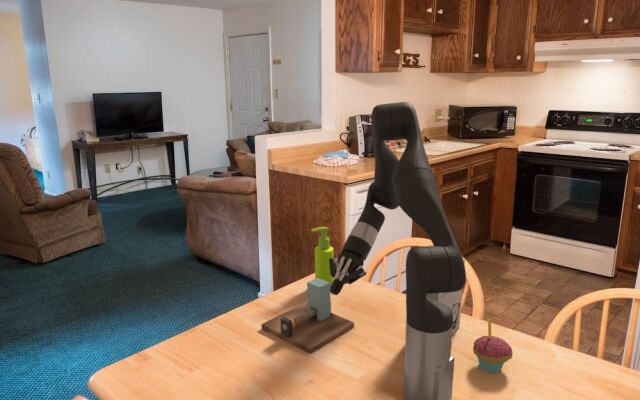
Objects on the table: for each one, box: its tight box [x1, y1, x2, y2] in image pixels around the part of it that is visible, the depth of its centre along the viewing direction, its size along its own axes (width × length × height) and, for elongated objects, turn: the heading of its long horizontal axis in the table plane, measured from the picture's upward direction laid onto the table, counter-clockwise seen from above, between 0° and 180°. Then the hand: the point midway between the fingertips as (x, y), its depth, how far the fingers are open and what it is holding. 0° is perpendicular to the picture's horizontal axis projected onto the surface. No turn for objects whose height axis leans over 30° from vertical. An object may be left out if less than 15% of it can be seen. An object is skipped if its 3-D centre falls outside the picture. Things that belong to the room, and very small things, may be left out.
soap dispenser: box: [310, 226, 335, 287], centre depth 152 cm, size 6×7×20 cm
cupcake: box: [472, 315, 513, 374], centre depth 111 cm, size 9×8×12 cm
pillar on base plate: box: [261, 301, 355, 355], centre depth 130 cm, size 18×17×6 cm
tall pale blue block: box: [306, 277, 332, 322], centre depth 132 cm, size 5×4×10 cm
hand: (333, 293), depth 136 cm, fingers closed
